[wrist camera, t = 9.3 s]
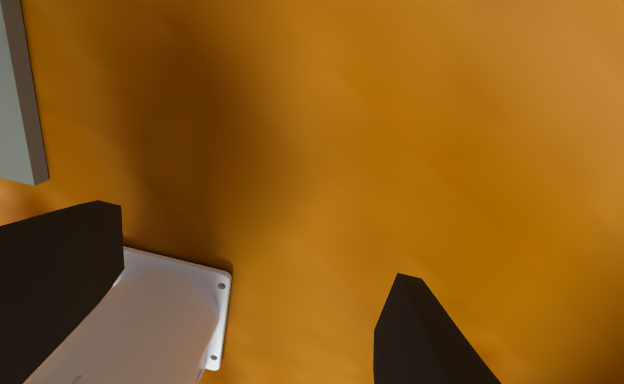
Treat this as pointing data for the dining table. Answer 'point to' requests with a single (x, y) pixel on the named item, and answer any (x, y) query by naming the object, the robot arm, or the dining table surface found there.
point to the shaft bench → (18, 104)
